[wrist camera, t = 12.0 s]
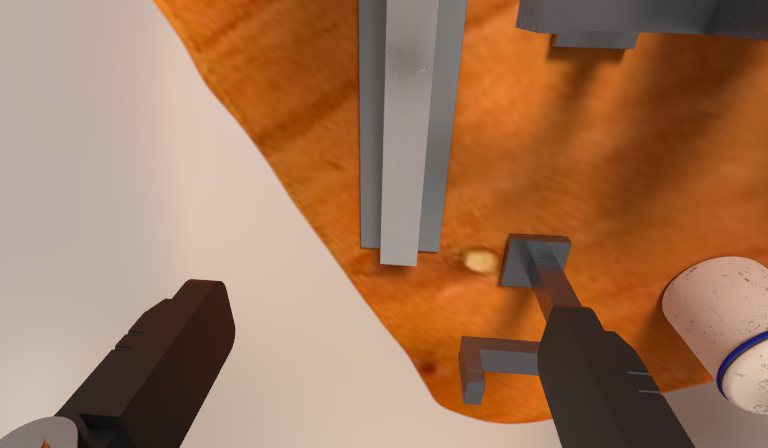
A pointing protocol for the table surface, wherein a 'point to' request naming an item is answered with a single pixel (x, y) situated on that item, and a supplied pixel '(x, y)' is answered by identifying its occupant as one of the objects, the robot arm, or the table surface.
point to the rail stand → (549, 253)
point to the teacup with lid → (725, 325)
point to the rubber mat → (438, 126)
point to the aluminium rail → (406, 124)
